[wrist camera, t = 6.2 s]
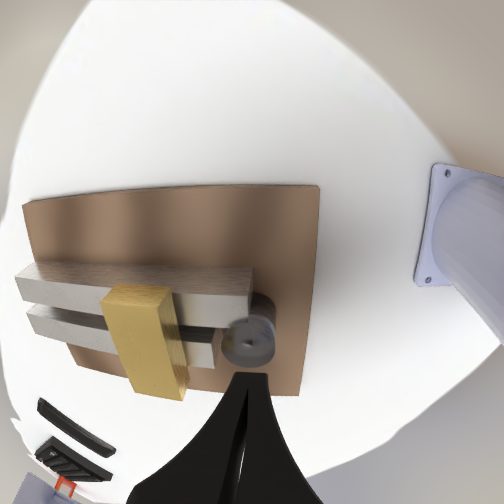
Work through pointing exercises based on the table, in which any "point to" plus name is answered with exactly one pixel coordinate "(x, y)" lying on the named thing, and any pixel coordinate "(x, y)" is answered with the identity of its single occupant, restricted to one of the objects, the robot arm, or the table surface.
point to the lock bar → (147, 339)
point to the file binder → (65, 486)
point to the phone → (74, 429)
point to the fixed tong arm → (183, 293)
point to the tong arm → (98, 337)
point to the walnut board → (197, 255)
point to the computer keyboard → (70, 463)
